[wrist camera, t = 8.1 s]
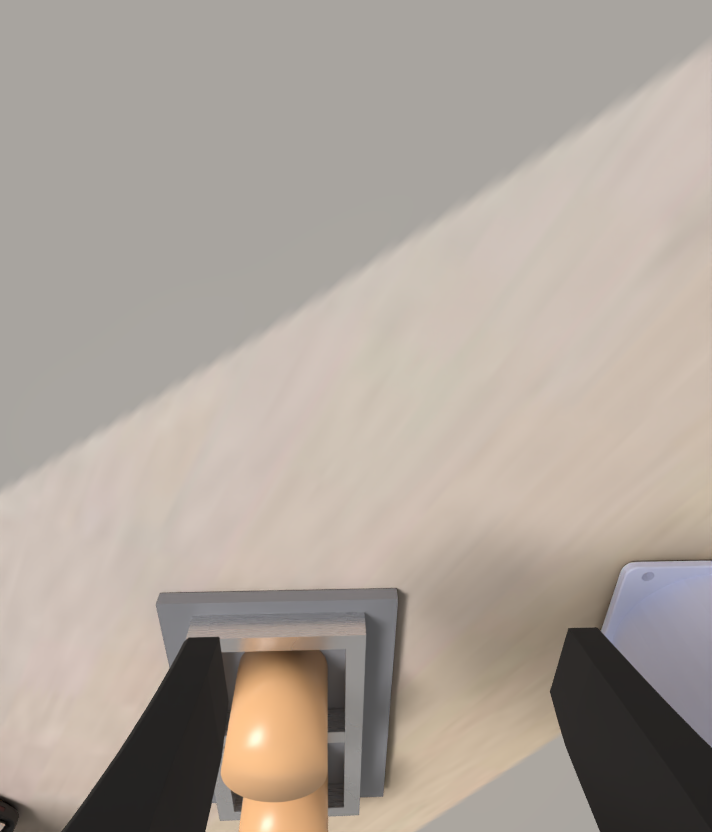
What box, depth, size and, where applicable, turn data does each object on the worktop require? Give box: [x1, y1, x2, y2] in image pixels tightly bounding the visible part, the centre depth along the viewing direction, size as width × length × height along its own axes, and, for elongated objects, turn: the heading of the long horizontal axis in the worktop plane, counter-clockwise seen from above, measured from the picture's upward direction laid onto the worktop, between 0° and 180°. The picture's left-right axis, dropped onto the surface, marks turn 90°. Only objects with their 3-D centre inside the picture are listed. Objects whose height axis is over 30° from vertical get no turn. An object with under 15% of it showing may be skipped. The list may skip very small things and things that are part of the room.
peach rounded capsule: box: [221, 650, 328, 802], centre depth 22 cm, size 4×4×4 cm
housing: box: [156, 588, 398, 832], centre depth 24 cm, size 10×15×5 cm, turn 179°
